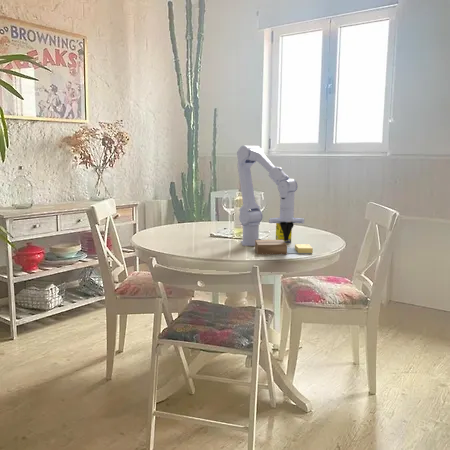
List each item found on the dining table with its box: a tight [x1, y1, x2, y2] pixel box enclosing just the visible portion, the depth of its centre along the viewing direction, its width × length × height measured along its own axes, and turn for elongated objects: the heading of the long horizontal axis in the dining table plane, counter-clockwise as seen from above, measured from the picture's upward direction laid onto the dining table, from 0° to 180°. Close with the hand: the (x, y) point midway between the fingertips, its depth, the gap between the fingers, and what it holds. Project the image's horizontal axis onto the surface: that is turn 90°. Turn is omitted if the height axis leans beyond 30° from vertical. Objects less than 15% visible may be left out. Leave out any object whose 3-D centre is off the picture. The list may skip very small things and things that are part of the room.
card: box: [294, 243, 314, 253], centre depth 205 cm, size 8×6×2 cm
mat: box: [286, 247, 312, 255], centre depth 206 cm, size 11×10×1 cm
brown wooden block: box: [254, 239, 288, 256], centre depth 204 cm, size 11×12×4 cm
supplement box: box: [275, 221, 293, 244], centre depth 225 cm, size 6×6×11 cm
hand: (286, 240), depth 204 cm, fingers closed
